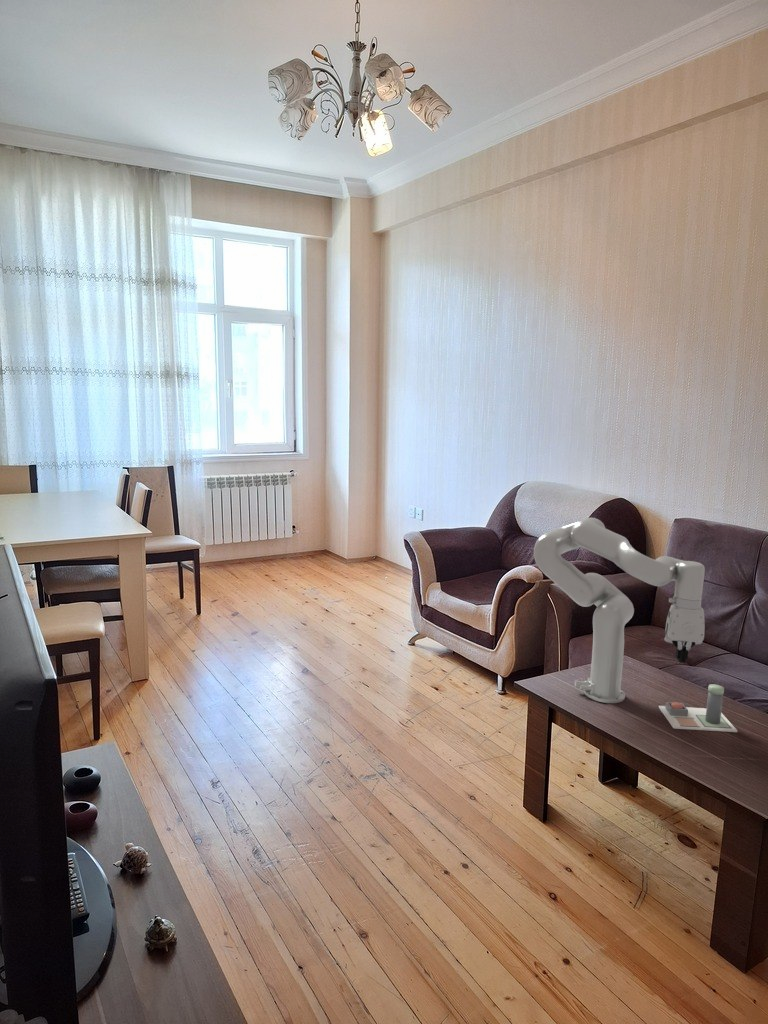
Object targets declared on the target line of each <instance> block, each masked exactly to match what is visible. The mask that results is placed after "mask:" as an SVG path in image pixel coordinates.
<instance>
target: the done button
mask: <svg viewBox="0 0 768 1024" xmlns="http://www.w3.org/2000/svg"><path fill="white" fill-rule="evenodd" d="M681 703H682V702H677V701H672V703H671V707H672V708H673V709H682V708H683V705H682V704H681Z"/></svg>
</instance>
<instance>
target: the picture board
mask: <svg viewBox="0 0 768 1024" xmlns="http://www.w3.org/2000/svg"><path fill="white" fill-rule="evenodd" d="M672 702H673V701H672ZM672 702H671V701H669V702H668V701H665V705H658V708H659V710H660V711H661V713H662V714H663V715H664V717H665V719H666V720H667V722H668V723H669V724H670V725H671V727H672V728H673V729H675V730H676V729H677V730H690V731H692V730H693V731H695V730H696V731H711V732H724V733H726V732H728V733H738V730H737V728H736V727H735V726H734V725H733V724H732V723H731V722H730V721H729V719H728V718H727V717H726V716H725V715H724V714H723V712H721V719H720V723H719V724H713V723H709V722H707V721H706V720H705V718H706V708H707V707H706V708H704V707H691V706H690V707H687V706H686V705H685V704H684V703H683V702H680V703H681V704H682V705H683V708H682V709H673V708H672V707H671V703H672Z"/></svg>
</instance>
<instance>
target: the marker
mask: <svg viewBox="0 0 768 1024" xmlns="http://www.w3.org/2000/svg"><path fill="white" fill-rule="evenodd" d="M707 687H708V689H707V701H706V718H705V720H706V721H707V722H709V723H713V724H719V723H720V719H721V713H722V711H723V699H724V693H725V687H724V686H722V685H719V684H715V683H713V684H711V683H710V684H708V686H707Z"/></svg>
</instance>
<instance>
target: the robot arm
mask: <svg viewBox="0 0 768 1024" xmlns="http://www.w3.org/2000/svg"><path fill="white" fill-rule="evenodd" d="M579 548H582V549H585V550H588V551H590V552H592V553H594V554H596V555H598V556H600V557H603V558H604V559H606V560H609V561H611V562H613V563H614V564H615V565H616V566H617V567H619V568H620V569H621V570H623V571H624V572H625V573H626V574H628V575H629V576H631V577H633V578H636V579H638V580H640V581H642V582H644V583H646V584H648V585H651V586H654V587H664V586H665V585H667V584H669V583H670V582H672V581H674V582H675V583H674V592H673V593H674V595H673V597H670V598H668V603H671V605H670V608H669V611H668V614H667V617H666V622H665V631H664V632H665V633H664V634H665V635H664V636H665V637H664V639H663V640H664V641H665V642H666V643H668V644H673V645H674V647H676V649H675V659H676V660H677V661H678V662H679V663H681V664H682V663H683V664H686V662H687V660H688V657H689V651H691V648H692V647H694V646H695V645H701V644H703V641H704V639H705V628H706V627H705V623H706V621H705V611H704V608H703V607H702V599H703V589H704V580H705V572H706V571H705V570H706V568H705V566H704V564H702V563H701V562H698V561H693V560H682V559H679V558H676V557H672V556H667V555H662V556H658V557H657V558H655V559H654V558H651V557H649V556H647V555H645V554H643V553H641V552H640V551H638V550H636V549H635V548H634V547H633V546H632V544H630V541H629V540H628V539H627V537H625V536H623V535H621V534H619V533H616V532H614V531H612V530H610V529H608V528H606V526H605V524H604V522H602V520H600V519H598V518H596V517H587V518H584V519H582V520H580V521H579V520H578V521H577V522H573V523H571V524H568V525H564V526H561V527H558V528H555V529H553V530H550V531H547V532H545V533H543V534H542V535H540V536H539V538H537V539H536V541H535V544H534V547H533V558H534V562H535V564H536V566H537V567H538V569H539V570H540V571H541V572H542V574H544V575H545V576H546V577H547V578H548V579H550V581H552V582H553V583H554V584H555V585H556V586H557V587H559V588H560V590H561V591H563V592H564V594H566V595H567V596H568V598H570V599H571V600H573V602H575V603H576V604H577V605H578V606H581V607H583V608H584V607H585V608H586V607H587V608H588V607H591V606H592V605H595V606H596V608H595V610H594V612H593V615H592V631H593V632H592V651H591V666H590V676H589V677H587V679H586V680H584V681H582V680H574V687H575V688H577V687H578V688H579V689H580V690H583V691H584V692H583V693H584V695H585V696H586V697H588V698H589V699H591V700H593V701H595V702H599V703H603V704H619V703H621V702H623V701H625V699H626V693H625V692H624V691H623V690H622V689H621V687H622V677H623V664H624V655H625V654H624V653H625V652H624V651H625V650H624V649H625V626H626V624H627V623H629V622H630V620H631V619H632V618H633V616H634V613H635V608H634V604H633V602H632V601H631V599H629V597H628V596H627V595H626V594H624V593H623V592H622V591H621V590H620V589H618V587H616V585H614V584H613V583H611V582H610V580H609V579H607V578H606V577H605V576H603V575H601V574H599V573H598V572H597V573H596V572H587V573H584V572H582V571H581V570H579V569H578V568H577V567H576V566H575V565H574V564H573V563H571V562H570V561H568V560H566V559H565V558H564V557H562V555H563V554H565V553H567V552H570V551H573V550H577V549H579Z"/></svg>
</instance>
